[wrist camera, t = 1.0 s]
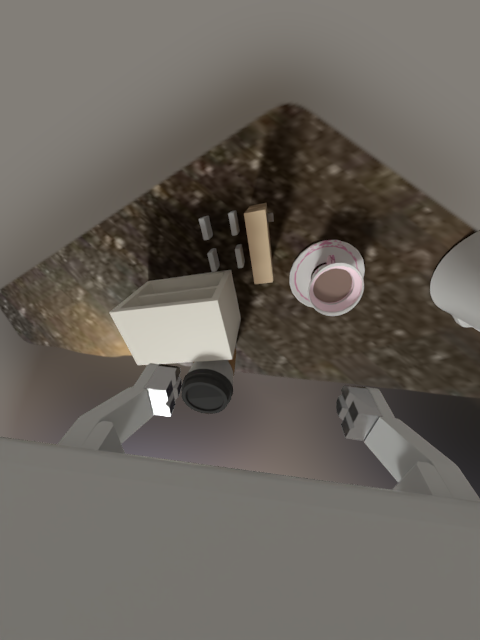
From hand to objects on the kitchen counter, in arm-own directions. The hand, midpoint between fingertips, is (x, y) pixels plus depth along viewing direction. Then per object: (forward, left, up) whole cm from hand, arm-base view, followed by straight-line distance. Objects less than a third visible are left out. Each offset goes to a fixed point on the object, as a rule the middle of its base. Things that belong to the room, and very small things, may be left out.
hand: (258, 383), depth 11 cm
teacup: (-9, +7, -30) cm, 32 cm away
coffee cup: (+11, +18, -30) cm, 36 cm away
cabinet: (+13, +4, -29) cm, 32 cm away
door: (0, -2, -29) cm, 29 cm away
